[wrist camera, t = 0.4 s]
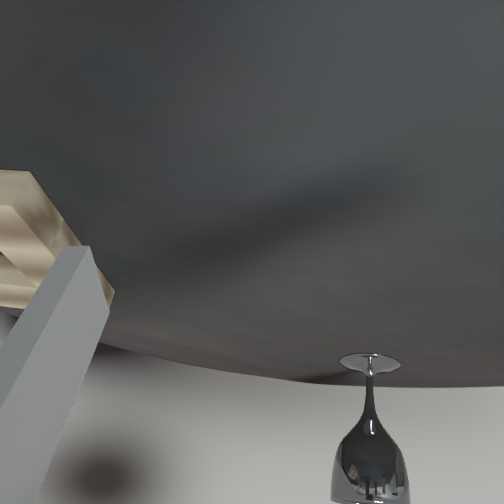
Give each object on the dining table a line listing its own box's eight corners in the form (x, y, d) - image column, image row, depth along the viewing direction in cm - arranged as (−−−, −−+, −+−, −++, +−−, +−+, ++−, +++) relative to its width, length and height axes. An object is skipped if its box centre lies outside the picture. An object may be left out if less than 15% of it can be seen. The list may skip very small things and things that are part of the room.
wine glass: (342, 373, 57) (337, 504, 49) (330, 351, 51) (323, 496, 43) (406, 375, 54) (412, 514, 46) (402, 352, 48) (408, 508, 40)
